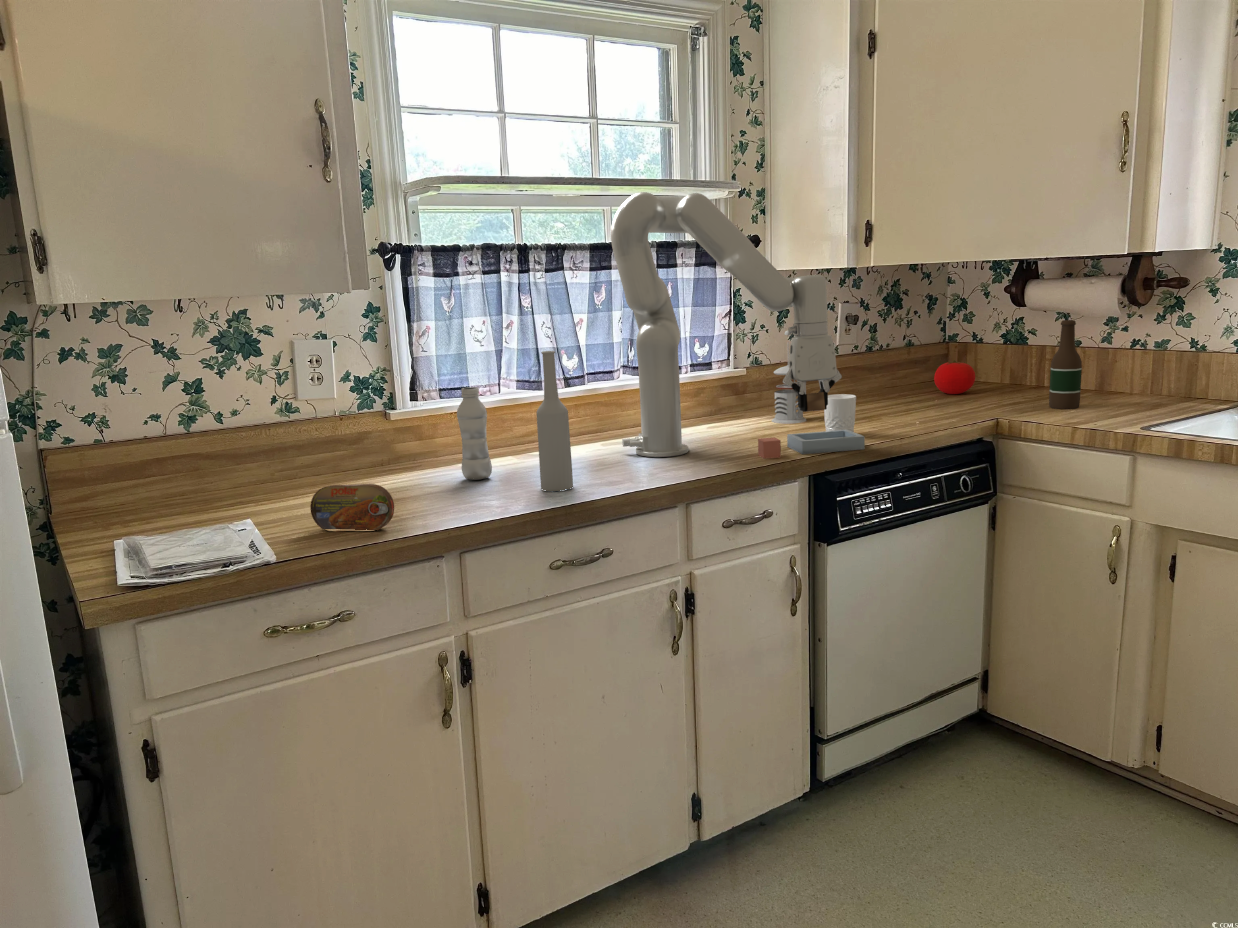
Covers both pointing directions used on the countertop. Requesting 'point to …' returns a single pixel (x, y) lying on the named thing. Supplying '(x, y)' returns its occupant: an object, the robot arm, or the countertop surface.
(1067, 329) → the beer bottle
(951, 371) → the tomato
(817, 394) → the block walnut
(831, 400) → the white cup
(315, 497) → the tin
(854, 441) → the dish
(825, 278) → the robot arm
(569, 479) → the bottle
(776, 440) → the block red
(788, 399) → the french press
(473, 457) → the plastic bottle
